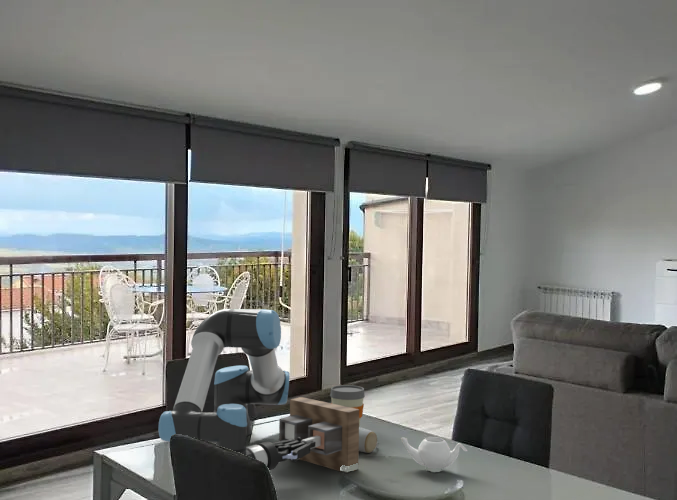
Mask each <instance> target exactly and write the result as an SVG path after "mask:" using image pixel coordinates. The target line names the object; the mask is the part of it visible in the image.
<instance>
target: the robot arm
mask: <svg viewBox="0 0 677 500" xmlns="http://www.w3.org/2000/svg"><path fill="white" fill-rule="evenodd" d="M280 319H281V318H280V316H279V314H278V312H276V311H275V310H273V309H266V308H262V309H259V308H258V309H257V308H256V309H253V308H252V309H251V308H250V309H249V308H248V309H247V308H245V309H244V308H222V309H219V310H217V311H215V312H212V313H211V314H210V315H209V316H207V317H206V318H205V319H203V320H202V321H201V322H200V324H199V325H198V326H197V328H196V329H195V330H194V333H193V334H192V339H191V340H190V344H191V345H190V346H191V348H192V349H191V353H190V356H189V359H188V362H187V365H186V367H185V372H184V374H183V377H182V380H181V384H180V387H179V390H178V392H177V396H176V398H175V402H174V405H173V408H172V410H169V411H168V410H167V411H163V412H162V413H161V415H160V417H159V421H158V436H159V439H160V440H162V441H164V442H170V438H171V436H172V435H174V434H182V435H188V436H191V437H195V438H198V439H202V440H205V441H209V442H212V443H211V444H216V446H217V445H219V446H222V447H225V448H228V449H231V450H233V451H236V452H240V453H242V454H244V455H247V456H250V457H252V458H254V459H257V460H259V461H262V462H264V463H265V464H266V465H267V467H268V468H269V470H270V471H272V470H275V469H276V467H278V465H279V463H283V462H285V461H287V460H291V461H292V462H293V463H296V462H297V461H298V460H300V458H301V457H303V456H305V455H307V454H309V453H310V449H312V448H315V447H318V446H321V436H318V435H317V436H313V437H310V438H307V439H303V440H302V441H301V438H300V437H297V440H296V441H295V440H294V439H291V440H285V441H280V442H279V441H276V442H270V441H264V442H259V443H256V444H252V445H248V446H247V437H248V436H250V435H251V434H252V433H253V424H252V422H251V419H250V415H249V413H248V412H249V411H248V405H275V406H278V405H279V406H280V405H286V404H287V402H288V397H289V396H288V395H289V388H290V375H291V374H290V371H286V370H283V369H282V368H281V367H280V366H279V365H278V360H277V356H276V350H275V349H277V348H278V347H279V346H280V344H281V340H282V327H281V320H280ZM224 348H241V350H242V352H243V353H244V354H245V355H247V356H248V360H249V363H250V367H251V370H250V368H249V367H248V366H247V365H243V364H242V365H233V366H227V367H226V366H225V367H223V368H220V369H218V370H216V372H215V373H214V370H215V367H216V364H217V360H218V357H219V356H220V355H221V354H222V352H223V351H224ZM213 374H214V383H213V385H214V390H213V391H214V392H213V393H214V394H213V396H214V397H213V399H214V400H213V402H214V404H213V406H214V408H213V409H214V410H213V412H211V411H210V412H206V411H205V412H203V410H204V408H205V403H206V400H207V396H208V391H209V389H210V385H211V381H212V378H213Z"/></svg>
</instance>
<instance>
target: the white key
mask: <svg viewBox="0 0 677 500" xmlns="http://www.w3.org/2000/svg"><path fill="white" fill-rule="evenodd" d="M294 427H295V425H292V424H288V423H285V439H289V440H291V439H294Z"/></svg>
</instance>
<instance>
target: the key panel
mask: <svg viewBox="0 0 677 500" xmlns="http://www.w3.org/2000/svg"><path fill="white" fill-rule="evenodd" d="M331 403H332V402H331ZM331 403H330V402H326V401H322V400H316V399H312V398H307V397H302V396H299V397H295V398H291V399H289V416H285V417H281V418H279V420H278V421H279V425H278V426H279V429H278V430H279V432H278V433H279V434H278V442H280V441H285V440H289V439H285V423H288V424H292V425H295V427H294V440H295V441H296V440H297V437H300V438H301V441H302V440H303V439H307V438H310V437H313V430H316V431H320V432H324V450H323V449H320V448H316V447H315V448H312V449H310V453H309V454H307V455H305V456H303V457H301V458H300V459H299V460H300V461H304V462H308V463H311V464H315V465H318V466H319V467H324V468H328V469H331V470H335V471H338V472H341V471H340V467H341V466H342V465H345V466H350V465H353V464H356V463H358V464H359V459H360V458H359V453H360V451H359V409H355V408H350V407H345V406H341V405H336V404H331Z"/></svg>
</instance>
